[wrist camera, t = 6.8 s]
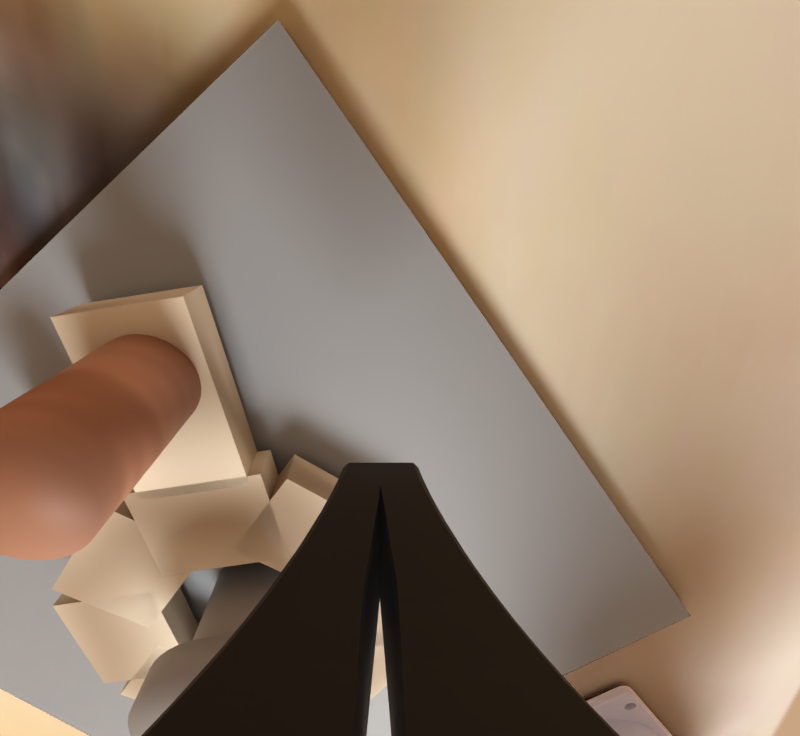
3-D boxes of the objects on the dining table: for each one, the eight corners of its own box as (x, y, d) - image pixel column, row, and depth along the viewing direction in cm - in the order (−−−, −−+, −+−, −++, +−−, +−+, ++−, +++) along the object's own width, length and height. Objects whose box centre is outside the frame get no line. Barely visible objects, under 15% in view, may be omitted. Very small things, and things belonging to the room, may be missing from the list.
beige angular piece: (436, 672, 18) (458, 869, 13) (159, 710, 18) (72, 918, 13) (362, 259, 11) (347, 328, 6) (-74, 327, 12) (-440, 449, 6)
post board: (681, 602, 18) (787, 753, 13) (255, 806, 23) (223, 969, 18) (283, 28, 10) (196, -106, 5) (-242, 534, 15) (-531, 700, 10)
